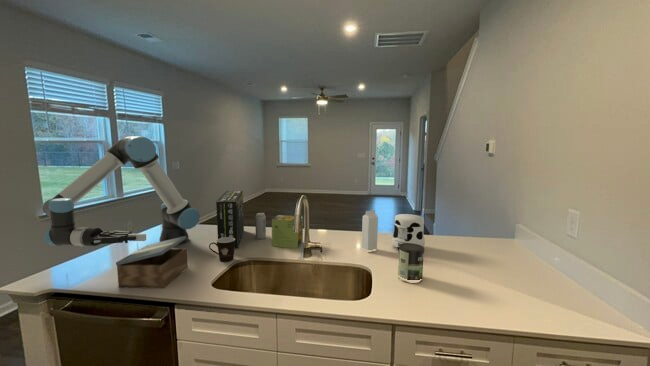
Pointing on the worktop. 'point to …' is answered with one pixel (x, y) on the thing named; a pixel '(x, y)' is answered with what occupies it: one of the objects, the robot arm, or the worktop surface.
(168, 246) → the lid
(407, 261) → the coffee can
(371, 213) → the milk
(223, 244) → the coffee mug
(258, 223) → the energy drink can
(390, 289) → the worktop surface
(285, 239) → the protein box
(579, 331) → the worktop surface
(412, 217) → the milk container
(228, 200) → the router box
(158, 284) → the walnut box
